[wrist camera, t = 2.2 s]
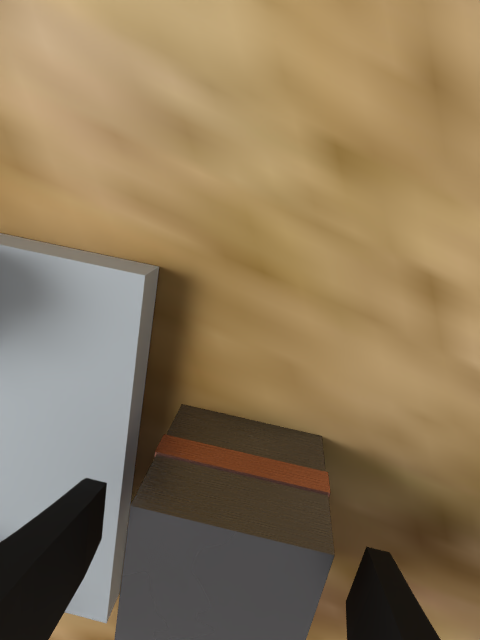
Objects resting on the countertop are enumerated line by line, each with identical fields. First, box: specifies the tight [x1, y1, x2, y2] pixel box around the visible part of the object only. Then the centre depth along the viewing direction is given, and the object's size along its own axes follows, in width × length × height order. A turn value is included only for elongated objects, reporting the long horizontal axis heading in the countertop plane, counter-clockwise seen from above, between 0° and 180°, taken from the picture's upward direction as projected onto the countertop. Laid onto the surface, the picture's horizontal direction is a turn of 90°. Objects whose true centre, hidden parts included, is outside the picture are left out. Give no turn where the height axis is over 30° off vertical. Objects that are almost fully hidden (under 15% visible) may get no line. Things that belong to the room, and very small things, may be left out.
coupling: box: [115, 404, 335, 640], centre depth 12 cm, size 5×5×4 cm
